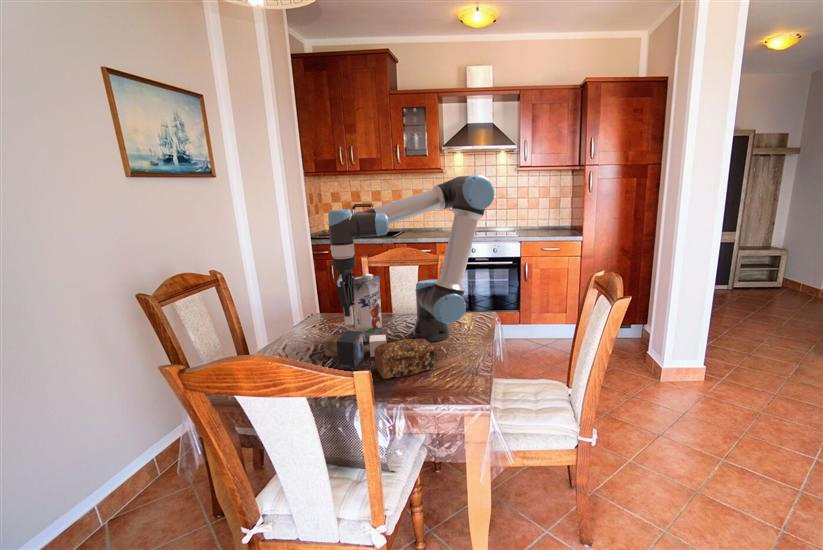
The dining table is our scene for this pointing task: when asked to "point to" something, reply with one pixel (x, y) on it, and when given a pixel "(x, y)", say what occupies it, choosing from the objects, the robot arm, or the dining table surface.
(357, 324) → the juice carton
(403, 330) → the dining table surface
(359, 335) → the small box
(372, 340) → the cream block
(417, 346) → the bread
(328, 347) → the walnut block
